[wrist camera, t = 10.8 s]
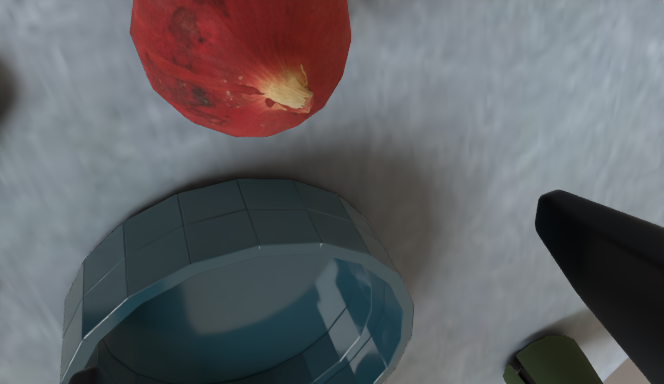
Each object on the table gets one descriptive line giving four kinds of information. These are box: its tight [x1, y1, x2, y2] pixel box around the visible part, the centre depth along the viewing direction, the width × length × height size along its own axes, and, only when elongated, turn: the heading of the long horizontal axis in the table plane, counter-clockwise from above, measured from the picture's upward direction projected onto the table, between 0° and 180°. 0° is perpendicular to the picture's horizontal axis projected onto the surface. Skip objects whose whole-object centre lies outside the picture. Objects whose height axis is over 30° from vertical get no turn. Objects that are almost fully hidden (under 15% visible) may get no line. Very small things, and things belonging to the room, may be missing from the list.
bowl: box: [60, 179, 414, 384], centre depth 25 cm, size 15×15×4 cm
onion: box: [130, 0, 351, 137], centre depth 14 cm, size 6×6×8 cm
